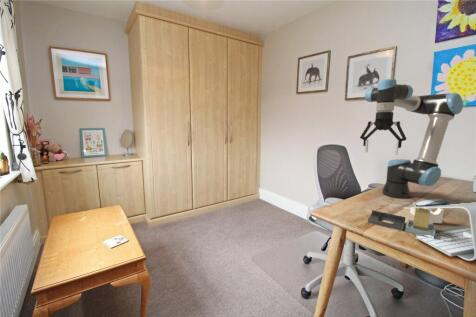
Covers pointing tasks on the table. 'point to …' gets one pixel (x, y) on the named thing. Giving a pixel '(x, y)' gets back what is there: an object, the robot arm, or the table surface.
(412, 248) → the table surface
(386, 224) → the dark grey shallow tray
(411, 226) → the tray
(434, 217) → the bracket
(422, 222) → the mustard yellow block
